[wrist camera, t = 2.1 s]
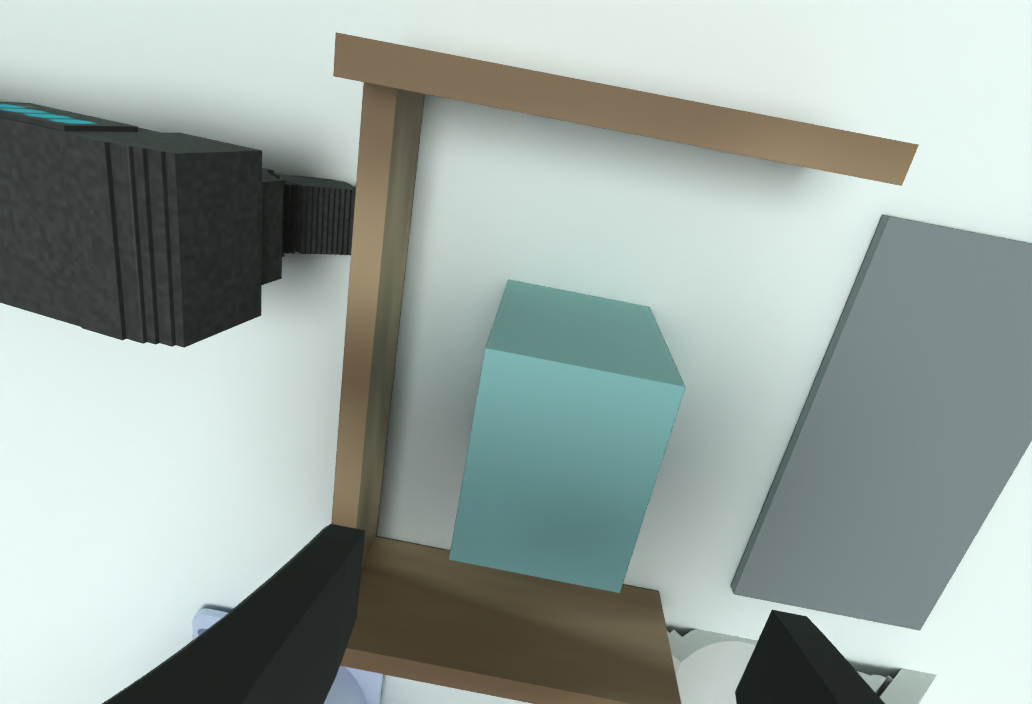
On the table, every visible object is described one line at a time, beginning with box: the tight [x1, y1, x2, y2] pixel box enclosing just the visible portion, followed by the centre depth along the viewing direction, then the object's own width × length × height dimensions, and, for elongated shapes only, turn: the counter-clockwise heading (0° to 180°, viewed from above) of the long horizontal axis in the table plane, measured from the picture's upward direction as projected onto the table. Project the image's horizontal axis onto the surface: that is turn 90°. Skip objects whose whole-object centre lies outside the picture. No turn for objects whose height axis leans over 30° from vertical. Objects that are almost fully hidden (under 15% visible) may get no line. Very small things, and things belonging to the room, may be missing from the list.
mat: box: [731, 215, 1032, 630], centre depth 20 cm, size 14×7×1 cm, turn 170°
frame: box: [331, 33, 918, 704], centre depth 17 cm, size 17×12×5 cm
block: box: [449, 280, 685, 593], centre depth 17 cm, size 6×4×6 cm
